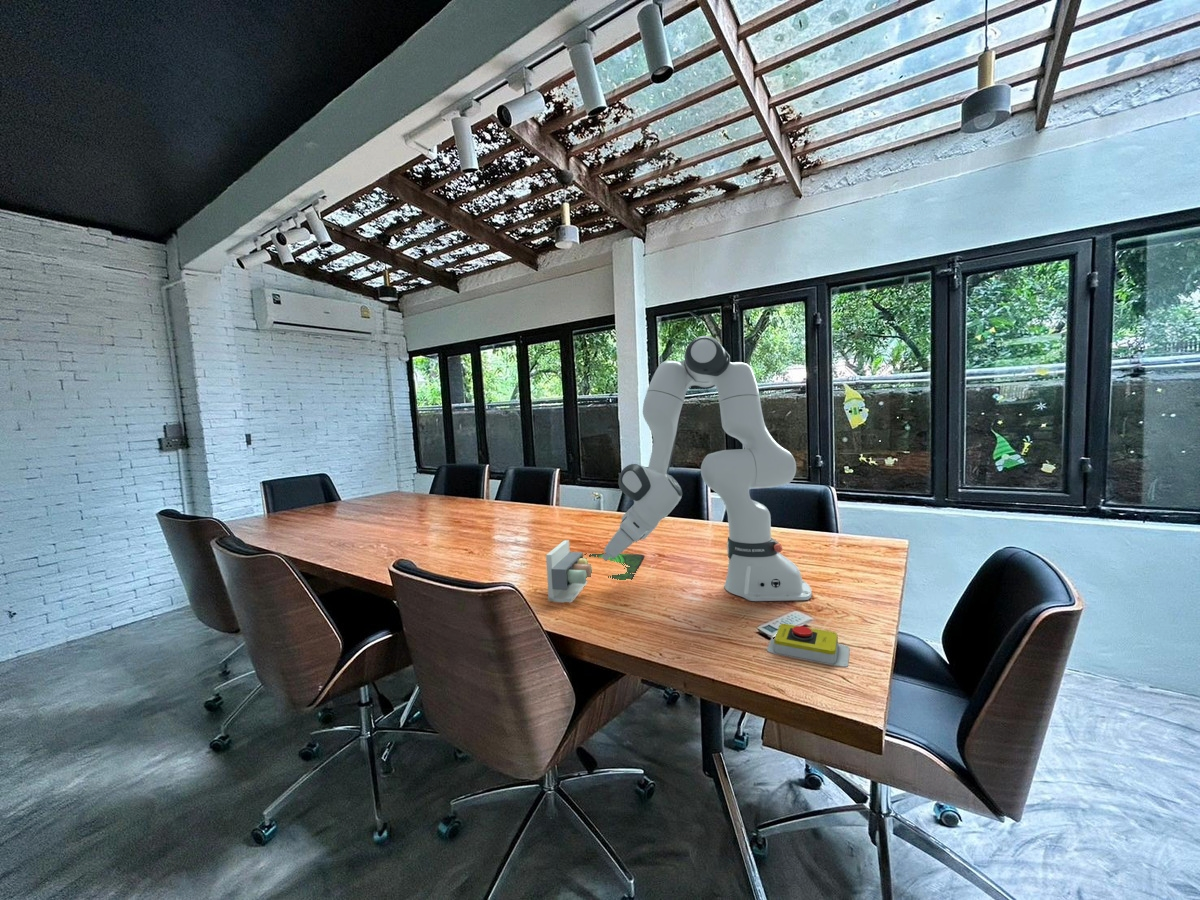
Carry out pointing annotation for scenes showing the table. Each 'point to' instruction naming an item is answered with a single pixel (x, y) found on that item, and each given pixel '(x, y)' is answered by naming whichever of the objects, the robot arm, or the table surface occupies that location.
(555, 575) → the console
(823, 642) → the emergency button
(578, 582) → the sage button
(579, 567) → the terracotta button
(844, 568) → the table surface
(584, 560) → the mustard button
